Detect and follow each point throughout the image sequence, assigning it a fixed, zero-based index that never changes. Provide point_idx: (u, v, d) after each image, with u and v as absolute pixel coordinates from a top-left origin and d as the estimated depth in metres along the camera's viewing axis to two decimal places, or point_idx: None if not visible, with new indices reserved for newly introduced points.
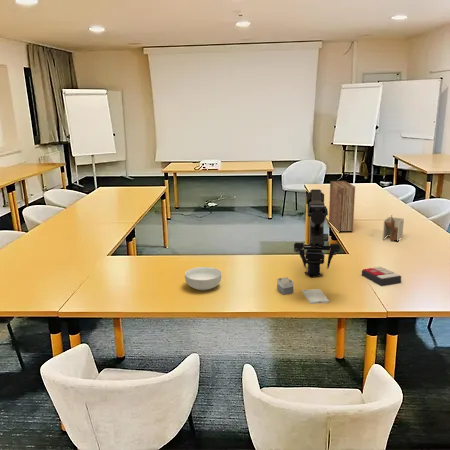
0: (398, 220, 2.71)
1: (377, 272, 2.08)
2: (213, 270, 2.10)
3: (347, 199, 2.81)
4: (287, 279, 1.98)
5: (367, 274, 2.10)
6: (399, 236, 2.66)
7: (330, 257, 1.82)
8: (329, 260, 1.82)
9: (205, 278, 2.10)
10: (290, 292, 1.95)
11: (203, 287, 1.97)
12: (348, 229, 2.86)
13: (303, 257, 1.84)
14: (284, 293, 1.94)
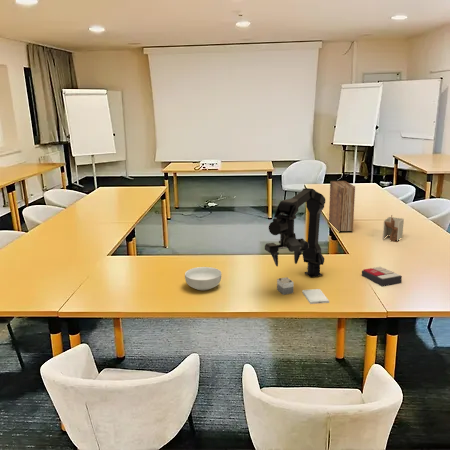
0: (398, 220, 2.71)
1: (377, 272, 2.08)
2: (213, 270, 2.10)
3: (347, 199, 2.81)
4: (287, 279, 1.98)
5: (367, 274, 2.09)
6: (399, 236, 2.66)
7: (299, 254, 1.94)
8: (298, 257, 1.94)
9: (205, 278, 2.10)
10: (290, 292, 1.95)
11: (203, 287, 1.97)
12: (348, 229, 2.86)
13: (276, 258, 1.90)
14: (284, 293, 1.94)
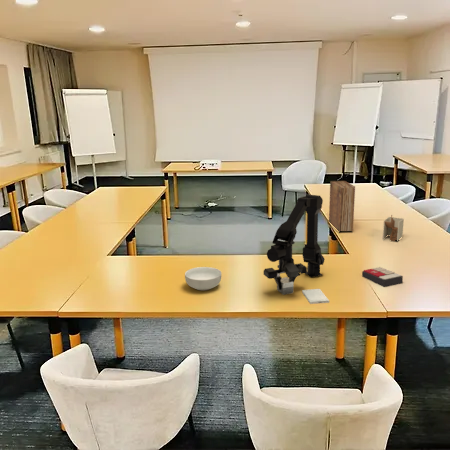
0: (398, 220, 2.71)
1: (378, 273, 2.07)
2: (213, 270, 2.10)
3: (347, 199, 2.81)
4: (287, 279, 1.98)
5: (368, 275, 2.09)
6: (399, 236, 2.66)
7: (293, 279, 1.96)
8: None
9: (205, 278, 2.10)
10: (290, 292, 1.95)
11: (203, 287, 1.97)
12: (348, 229, 2.86)
13: (279, 282, 1.94)
14: (284, 293, 1.94)
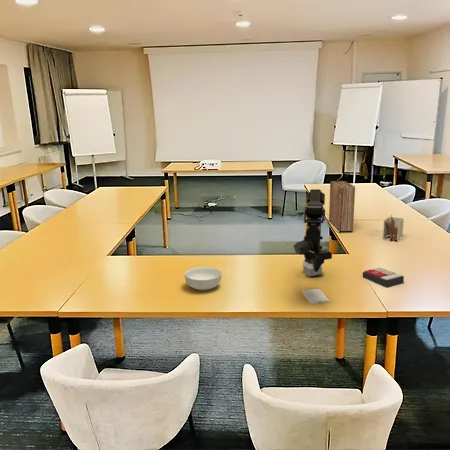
0: (398, 220, 2.71)
1: (379, 273, 2.06)
2: (213, 270, 2.10)
3: (347, 199, 2.81)
4: None
5: (369, 276, 2.08)
6: (399, 236, 2.66)
7: (315, 262, 1.83)
8: (315, 265, 1.84)
9: (205, 278, 2.10)
10: (307, 273, 1.86)
11: (203, 287, 1.97)
12: (348, 229, 2.86)
13: (305, 258, 1.90)
14: (303, 271, 1.89)
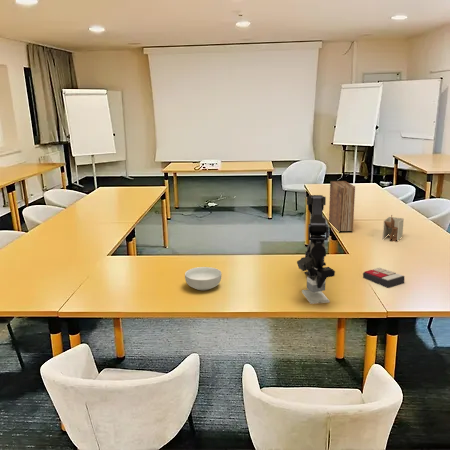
0: (398, 220, 2.71)
1: (380, 274, 2.06)
2: (213, 270, 2.10)
3: (347, 199, 2.81)
4: None
5: (370, 276, 2.07)
6: (399, 236, 2.66)
7: (318, 279, 1.85)
8: (318, 281, 1.85)
9: (205, 278, 2.10)
10: (311, 289, 1.88)
11: (203, 287, 1.97)
12: (348, 229, 2.86)
13: (309, 274, 1.91)
14: (307, 287, 1.90)
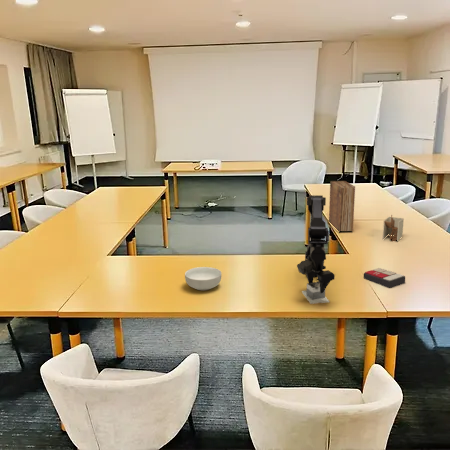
0: (398, 220, 2.71)
1: (381, 274, 2.05)
2: (213, 270, 2.10)
3: (347, 199, 2.81)
4: (319, 285, 1.88)
5: (371, 277, 2.06)
6: (399, 236, 2.66)
7: (320, 284, 1.83)
8: (320, 286, 1.84)
9: (205, 278, 2.10)
10: (310, 297, 1.88)
11: (203, 287, 1.97)
12: (348, 229, 2.86)
13: (307, 276, 1.93)
14: (307, 294, 1.91)
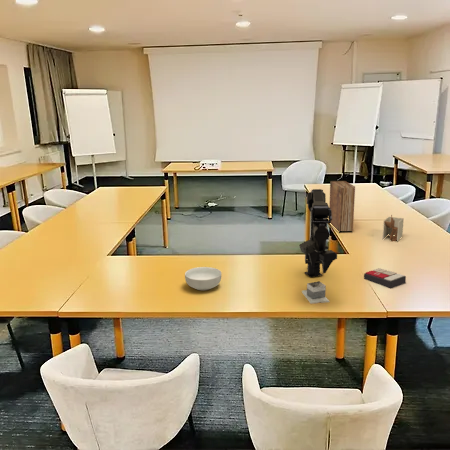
0: (398, 220, 2.71)
1: (381, 274, 2.05)
2: (213, 270, 2.10)
3: (347, 199, 2.81)
4: (319, 285, 1.88)
5: (371, 277, 2.06)
6: (399, 236, 2.66)
7: (323, 264, 1.82)
8: (322, 266, 1.83)
9: (205, 278, 2.10)
10: (311, 296, 1.89)
11: (203, 287, 1.97)
12: (348, 229, 2.86)
13: (309, 256, 1.93)
14: (307, 294, 1.91)
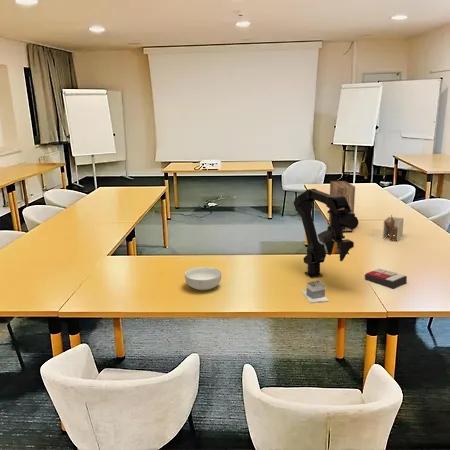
0: (398, 220, 2.71)
1: (383, 275, 2.05)
2: (213, 270, 2.10)
3: (347, 199, 2.81)
4: (318, 284, 1.89)
5: (373, 278, 2.05)
6: (399, 236, 2.66)
7: (340, 252, 1.94)
8: (340, 255, 1.95)
9: (205, 278, 2.10)
10: (310, 296, 1.89)
11: (203, 287, 1.97)
12: (348, 229, 2.86)
13: (326, 246, 2.04)
14: (307, 293, 1.92)
